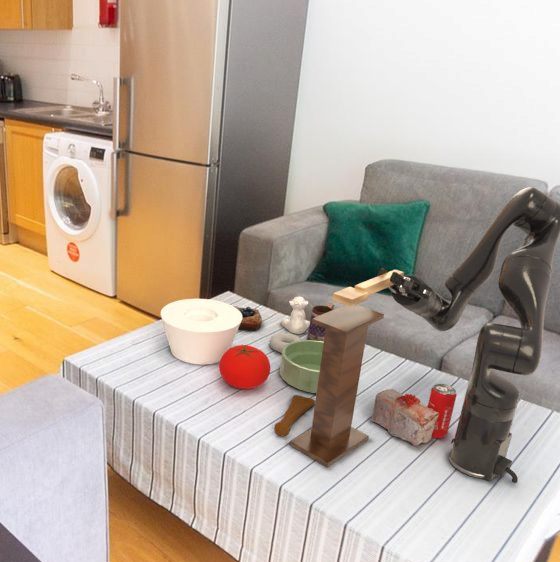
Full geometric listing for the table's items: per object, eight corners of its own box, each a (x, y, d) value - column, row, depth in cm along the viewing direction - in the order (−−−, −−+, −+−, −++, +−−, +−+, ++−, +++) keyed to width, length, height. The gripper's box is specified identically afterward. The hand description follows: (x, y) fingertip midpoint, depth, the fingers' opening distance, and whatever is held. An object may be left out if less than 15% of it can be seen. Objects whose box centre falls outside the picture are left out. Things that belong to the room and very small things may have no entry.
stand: (368, 440, 136) (391, 314, 124) (327, 467, 127) (347, 335, 115) (331, 420, 144) (349, 300, 132) (289, 445, 135) (305, 318, 123)
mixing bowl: (363, 380, 161) (367, 358, 158) (322, 403, 151) (326, 379, 148) (306, 355, 175) (309, 334, 172) (265, 374, 164) (268, 352, 162)
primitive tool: (294, 396, 154) (296, 384, 152) (315, 402, 151) (317, 390, 150) (272, 434, 138) (273, 422, 137) (295, 441, 136) (297, 429, 134)
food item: (438, 441, 136) (446, 405, 132) (417, 453, 132) (425, 416, 128) (386, 413, 147) (392, 378, 143) (365, 423, 143) (371, 388, 139)
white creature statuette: (309, 325, 194) (314, 291, 190) (313, 336, 186) (317, 302, 182) (280, 323, 195) (284, 290, 191) (282, 334, 187) (286, 300, 183)
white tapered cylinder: (143, 349, 178) (143, 313, 174) (196, 326, 193) (197, 292, 189) (203, 379, 162) (205, 340, 157) (255, 351, 177) (259, 315, 172)
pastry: (226, 315, 202) (227, 299, 200) (262, 318, 199) (263, 302, 197) (223, 328, 192) (224, 312, 190) (260, 332, 189) (262, 316, 187)
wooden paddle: (388, 277, 134) (390, 267, 134) (407, 282, 131) (409, 273, 130) (331, 300, 122) (333, 290, 121) (351, 306, 119) (352, 296, 118)
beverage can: (445, 442, 136) (456, 397, 131) (420, 434, 138) (430, 391, 134) (447, 430, 140) (458, 387, 135) (423, 424, 142) (433, 381, 138)
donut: (296, 359, 173) (307, 345, 180) (298, 349, 171) (308, 335, 179) (264, 350, 178) (275, 337, 185) (265, 340, 176) (276, 328, 184)
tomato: (244, 366, 168) (246, 333, 165) (278, 385, 159) (282, 351, 155) (207, 381, 161) (209, 347, 157) (241, 402, 151) (244, 366, 147)
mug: (322, 351, 177) (327, 314, 173) (301, 343, 182) (306, 307, 178) (339, 340, 184) (345, 305, 179) (319, 333, 188) (323, 298, 184)
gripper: (393, 272, 145) (364, 250, 133) (450, 288, 135) (424, 267, 123) (381, 300, 146) (351, 281, 134) (437, 318, 135) (410, 299, 124)
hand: (386, 274), depth 129 cm, fingers closed on wooden paddle, 2 cm apart
